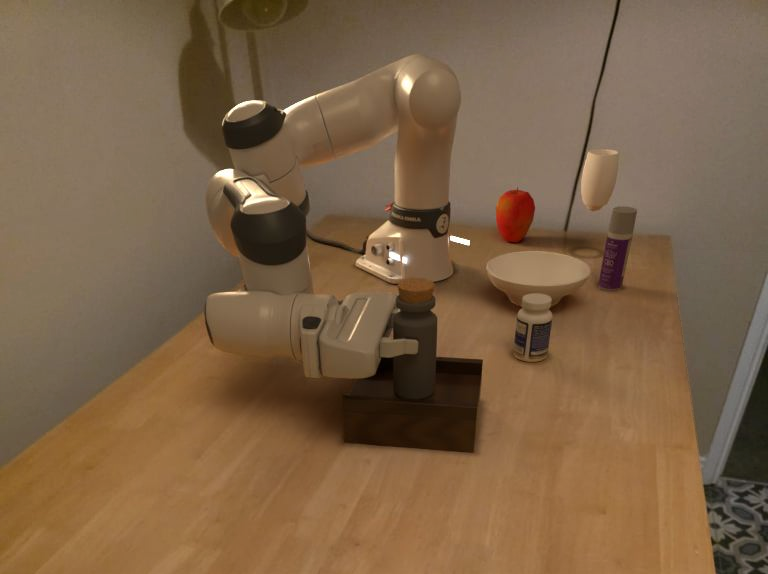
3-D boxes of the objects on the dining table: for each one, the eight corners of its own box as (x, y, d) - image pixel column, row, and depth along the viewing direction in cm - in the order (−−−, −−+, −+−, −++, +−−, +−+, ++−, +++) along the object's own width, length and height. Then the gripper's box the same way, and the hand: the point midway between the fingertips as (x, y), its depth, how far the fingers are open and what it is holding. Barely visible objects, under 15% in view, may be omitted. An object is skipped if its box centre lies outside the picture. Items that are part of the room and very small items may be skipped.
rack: (344, 442, 93) (341, 398, 88) (363, 393, 104) (361, 352, 99) (473, 452, 90) (477, 407, 86) (479, 401, 101) (483, 359, 97)
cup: (577, 245, 157) (593, 147, 144) (607, 251, 154) (626, 150, 141) (565, 254, 153) (580, 153, 140) (595, 259, 150) (613, 157, 137)
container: (596, 289, 135) (610, 211, 126) (599, 282, 139) (613, 205, 129) (620, 292, 134) (636, 213, 125) (622, 284, 137) (639, 207, 128)
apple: (489, 236, 165) (493, 183, 157) (525, 234, 165) (530, 181, 158) (498, 247, 157) (503, 193, 150) (535, 245, 158) (542, 191, 150)
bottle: (431, 401, 91) (435, 293, 82) (389, 398, 92) (388, 290, 83) (437, 381, 95) (442, 277, 86) (397, 378, 96) (397, 274, 87)
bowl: (522, 277, 142) (526, 244, 137) (603, 301, 131) (610, 266, 126) (463, 303, 131) (465, 268, 127) (546, 331, 120) (551, 294, 116)
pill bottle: (549, 350, 114) (557, 293, 108) (544, 365, 110) (552, 306, 104) (516, 346, 116) (522, 289, 109) (509, 360, 111) (516, 302, 105)
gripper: (338, 319, 100) (430, 325, 98) (303, 384, 85) (411, 392, 83) (336, 278, 96) (431, 282, 94) (298, 337, 81) (411, 344, 79)
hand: (422, 334), depth 88 cm, fingers closed on bottle, 6 cm apart
